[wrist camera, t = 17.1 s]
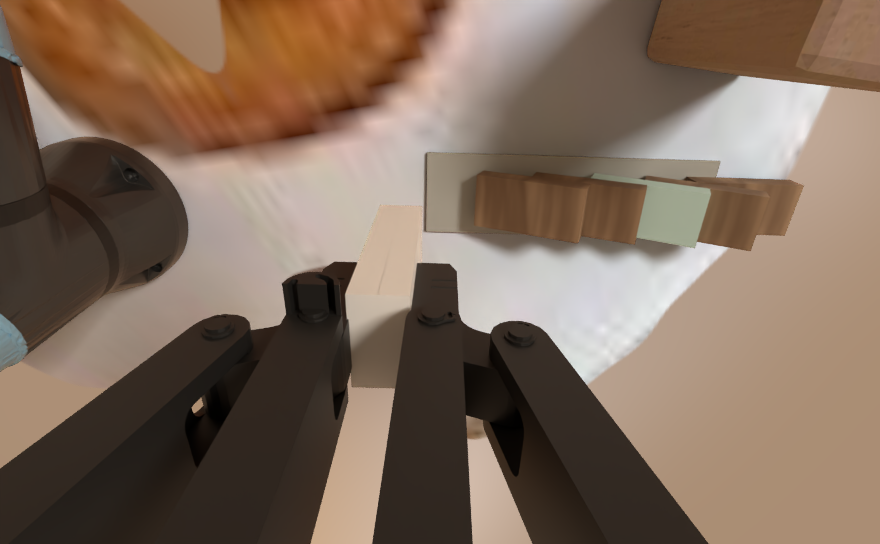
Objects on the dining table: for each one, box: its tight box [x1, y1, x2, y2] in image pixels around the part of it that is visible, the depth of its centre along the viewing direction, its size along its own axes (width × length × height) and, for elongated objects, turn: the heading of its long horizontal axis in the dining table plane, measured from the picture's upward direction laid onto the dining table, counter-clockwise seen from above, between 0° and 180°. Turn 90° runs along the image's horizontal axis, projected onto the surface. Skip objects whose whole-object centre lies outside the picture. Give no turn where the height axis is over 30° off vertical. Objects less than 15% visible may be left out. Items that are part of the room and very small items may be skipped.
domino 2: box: [532, 172, 647, 245], centre depth 44 cm, size 2×5×10 cm
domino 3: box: [645, 175, 770, 251], centre depth 44 cm, size 2×5×10 cm
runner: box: [426, 152, 720, 234], centre depth 46 cm, size 28×8×1 cm, turn 88°
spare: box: [591, 173, 711, 248], centre depth 44 cm, size 2×5×10 cm
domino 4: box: [686, 177, 804, 236], centre depth 46 cm, size 2×5×10 cm
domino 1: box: [474, 170, 590, 243], centre depth 44 cm, size 2×5×10 cm
